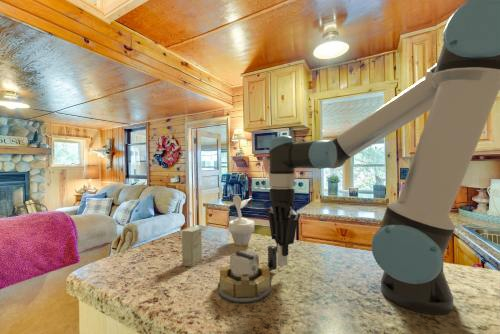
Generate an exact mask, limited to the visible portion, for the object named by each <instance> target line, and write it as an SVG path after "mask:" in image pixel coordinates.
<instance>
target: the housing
mask: <svg viewBox="0 0 500 334" xmlns="http://www.w3.org/2000/svg"><path fill="white" fill-rule="evenodd" d="M259 256H260V255H259V254H258V253H257V252H255V251H252V250H240V251H239V250H237V251H235V252H233V253H231V255H230V256H229V265H230V278H232V279H234V280H236V281H241V276H249V281H253V280H255V279H256V278H258V277H259V264H260V261H259V260H260V257H259ZM272 289H273V286H272V282H271V281H270V287H269V289H267V290H266V291H264V292H262V293H261V294H259V295H258V296H257V295H255V296H252V297H235V296H234V297H233V296H231V295H229V294H227V293H226V292H224V291H222V290H220V281H219V282H218V284H217V293H218V295H219V297H220V298H221V299H223V300H225V301H227V302H229V303H232V304H238V305H247V304H249V305H250V304H255V303H258V302H259V303H260V302H262V301H263V300H265V299H266V298H268V297H269V296H270V295H271V293H272Z"/></svg>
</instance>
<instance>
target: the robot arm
mask: <svg viewBox="0 0 500 334" xmlns="http://www.w3.org/2000/svg"><path fill="white" fill-rule="evenodd" d="M442 41H443V44H442V47H441V49H440V53H439V56H438V60H437V62H436V63H435V64H434V65H433V66H431V67H430V68H428V69H427V70H426V71H425V75H424V76H423V78H421V79H419V80H418V81H417V82H416V83H414V84H413V85H411V86H410V87H408V88H407V89H405V90H403V91H402V92H400V93H399V94H398V95H397V96H395V97H393V98H392V99H391V100H389V101H388V102H387V103H384V104H383V105H382V106H381V107H378V109H376V110H374V111H373V112H371V113H370V114H369V115H367V116H366V117H365V118H362V119H361V120H360V121H358V122H357V123H355V124H353V126H351V127H349V128H348V129H347V130H345V131H343V132H342V133H340V134H339V135H337V137H335V138H334V139H332V140H330V139H324V140H323V139H318V140H311V141H301V142H300V141H299V142H295V138H294V137H293V136H291V135H290V136H289V135H281V136H280V135H279V136H278V135H277V136H274V137H271V138H270V140H269V148H268V149H269V150H268V153H269V156H268V157H269V180H268V181H269V184H268V186H269V187H271V188H270V189H269V200H270V201H271V206H270V207H267V208H266V214H267V215H268V222H269V228H270V237H271V239H272V240H273V241H275V244H276V246H275V247H276V249H277V267H279V268H282V267H285V266H288V256H289V245H292V244H294V242H295V238H296V232H297V227H298V226H297V225H298V221H299V219H300V216H301V214H300V213H299V212H298V213H297V212H296V211H295V209H294V203H293V202H294V201H295V188H294V187H295V169H320V170H321V169H337V168H340V167H342V166H343V165H344V164H345V163H346V162H347V161H348V160H350V159H351V158H352V157H354V156H356V155H358V153H359V154H360V152H362V151H363V150H365V149H367V148H369V147H371V146H372V145H374V144H376V143H377V142H379V141H381V140H382V139H385V138H386V137H387V136H389V135H391V134H392V133H394V132H396V131H398V130H399V129H401V128H402V127H405V126H406V125H408V124H409V123H412V121H414V120H416V119H417V118H419V117H421V116H422V115H424V114H426V113H428V112H429V113H428V115H427V119H426V120H425V124H424V127H423V129H422V132H421V135H420V139H419V140H418V143H417V146H416V150H415V152H414V155H413V158H412V161H411V163H410V165H409V169H408V172H407V175H406V177H405V181H404V183H403V186H402V188H401V190H400V194H399V197H398V199H397V200H395V201H392V202H390V203H388V204H387V206H386V209H385V211H384V215H383V218H382V221H381V223H380V226H379V229H377V231H376V232H375V233H374V235H373V236H372V241H371V253H372V256H373V259H374V260H375V262H376V264H377V265H378V267H380V269H381V270H382V271H383V273H382V276H381V280H380V290H381V293H382V294H383V295H384V296H385V297H386V298H387V299H388V300H389V301H392V302H394V304H396V305H398V306H401V307H403V308H405V309H409V310H411V311H414V312H418V313H422V314H429V315H446V314H450V313H451V312H452V311H453V310H454V305H455V304H454V295H453V294H452V291H451V288H450V286H449V283H448V281H447V278H446V275H445V272H444V264H445V263H444V256H445V253H446V251H447V248H448V246H449V243H450V241H451V238H452V236H453V233H454V231H455V230H456V225H455V224H454V222H453V221H452V220H451V218H450V213H451V211H452V208H453V207H454V203H455V200H456V199H457V196H458V193H459V192H460V191H459V190H460V189H461V185H462V183H463V181H464V180H465V179H464V178H465V176H466V173H467V171H468V168H469V166H470V164H471V162H472V158H473V156H474V154H475V151H476V149H477V146H478V143H479V141H480V138H481V136H482V134H483V132H484V129H485V125H486V124H487V122H488V119H489V117H490V113H491V112H492V109H493V107H494V104H495V101H496V100H497V97H498V94H499V92H500V0H467V1H465V2H463V4H461V5H460V6H459V7H458V8H457V9H456V10H455V11H454V12H453V14H452V15H451V16H450V17H449V19H448V21H447V23H446V25H445V28H444V30H443V34H442Z"/></svg>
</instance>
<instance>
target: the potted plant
mask: <svg viewBox="0 0 500 334" xmlns="http://www.w3.org/2000/svg"><path fill="white" fill-rule="evenodd" d="M242 194H243V196H244V198H245V197H246V191H245V189H244V191H243V193H242ZM250 200H252V197H251V198H248V199H247V198H246V199H243V200H242V198H241V197H240V196H239V195H237V194H235V195H234V196H233V197H232V201H233V205H234V206H235V208H236V212H237V215H238V218H235V219H232V220H229V221H228V233H230V235H231V238H232V241H233V243H234V245H236V246H242V247H243V246H247V245H249V244H250V240H251V237H252V233H254V232H255V220H253V219H248V218H246V217H242V216H243V214H242V210H241V209H243V208H245V206H246V205H248V203H249V201H250Z"/></svg>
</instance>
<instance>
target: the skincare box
mask: <svg viewBox="0 0 500 334" xmlns="http://www.w3.org/2000/svg"><path fill="white" fill-rule="evenodd" d="M181 244H182V245H181V246H182V248H181V250H182V251H181V253H182V255H181V256H182V257H181V258H182V259H181V260H182V261H181V262H182V263H181V265H182V266H185V267H190V268H192V267H194V266H196V265H198V264H199V263H200V262H202V260H203V259H202V258H203V257H202V251H203V249H202V247H203V246H202V245H203V243H202V227H197V226H196V227H195V226H191V227H189V228H186V229H184V230H182V231H181Z"/></svg>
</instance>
